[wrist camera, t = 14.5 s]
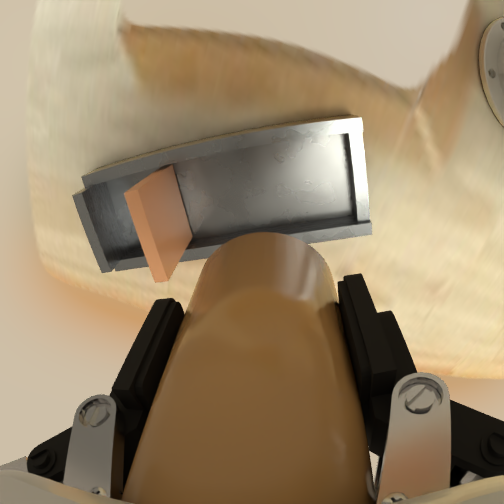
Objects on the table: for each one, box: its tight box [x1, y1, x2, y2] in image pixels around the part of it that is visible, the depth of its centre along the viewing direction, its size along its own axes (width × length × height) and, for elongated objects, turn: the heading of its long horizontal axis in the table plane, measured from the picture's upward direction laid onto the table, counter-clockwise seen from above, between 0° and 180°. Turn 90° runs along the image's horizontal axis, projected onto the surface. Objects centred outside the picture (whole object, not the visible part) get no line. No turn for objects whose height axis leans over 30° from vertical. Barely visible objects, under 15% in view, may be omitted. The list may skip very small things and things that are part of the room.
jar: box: [121, 232, 376, 504], centre depth 7 cm, size 5×5×10 cm
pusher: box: [124, 164, 193, 283], centre depth 23 cm, size 1×6×7 cm, turn 11°
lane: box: [72, 115, 372, 273], centre depth 24 cm, size 22×9×5 cm, turn 101°
